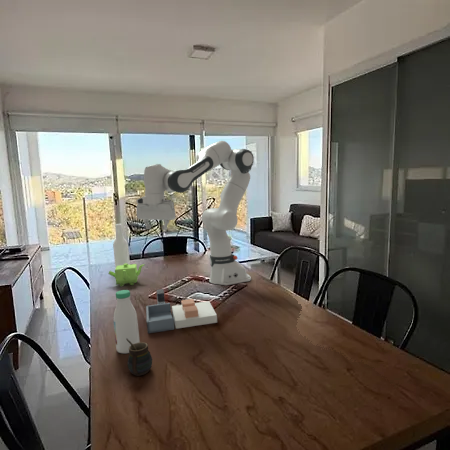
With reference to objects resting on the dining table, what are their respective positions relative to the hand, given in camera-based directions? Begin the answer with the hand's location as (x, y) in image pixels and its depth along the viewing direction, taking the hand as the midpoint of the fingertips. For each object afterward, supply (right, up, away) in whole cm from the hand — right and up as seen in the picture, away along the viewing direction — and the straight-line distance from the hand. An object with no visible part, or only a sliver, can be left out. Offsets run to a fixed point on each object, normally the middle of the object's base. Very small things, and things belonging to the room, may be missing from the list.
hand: (156, 229), depth 163 cm
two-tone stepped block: (+4, -34, -8) cm, 35 cm away
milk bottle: (-1, -40, -45) cm, 60 cm away
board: (+19, -36, -22) cm, 46 cm away
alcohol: (-32, -27, +56) cm, 70 cm away
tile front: (+19, -33, -27) cm, 47 cm away
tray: (+6, -37, -25) cm, 45 cm away
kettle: (-21, -31, +28) cm, 47 cm away
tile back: (+17, -32, -19) cm, 41 cm away
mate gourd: (+7, -42, -60) cm, 73 cm away
